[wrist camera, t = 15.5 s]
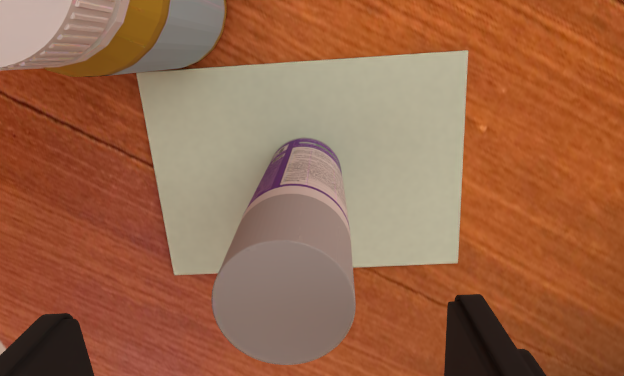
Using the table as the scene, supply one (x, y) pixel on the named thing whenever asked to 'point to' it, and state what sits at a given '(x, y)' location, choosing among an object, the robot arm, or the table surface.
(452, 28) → the table surface
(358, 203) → the mat
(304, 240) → the container
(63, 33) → the bottle
